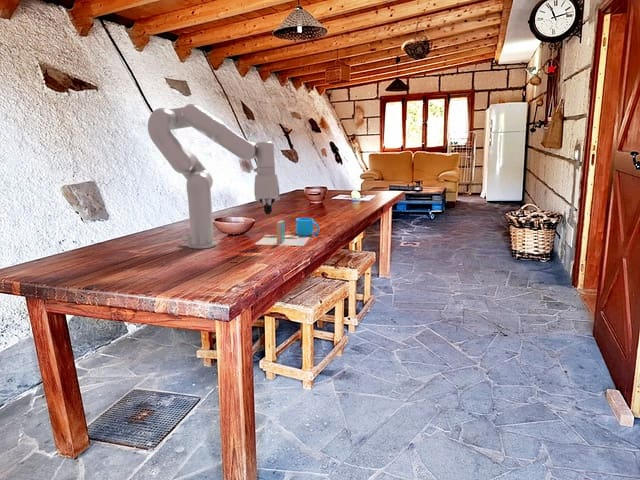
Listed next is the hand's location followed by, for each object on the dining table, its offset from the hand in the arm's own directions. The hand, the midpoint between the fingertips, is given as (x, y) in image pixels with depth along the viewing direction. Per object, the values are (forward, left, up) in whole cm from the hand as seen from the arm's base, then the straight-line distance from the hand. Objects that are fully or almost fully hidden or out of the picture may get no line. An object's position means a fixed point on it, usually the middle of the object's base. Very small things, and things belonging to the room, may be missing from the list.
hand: (268, 213), depth 203 cm
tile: (+5, 0, -12) cm, 13 cm away
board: (+6, +3, -13) cm, 15 cm away
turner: (+4, +9, -12) cm, 16 cm away
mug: (+14, +19, -14) cm, 27 cm away
